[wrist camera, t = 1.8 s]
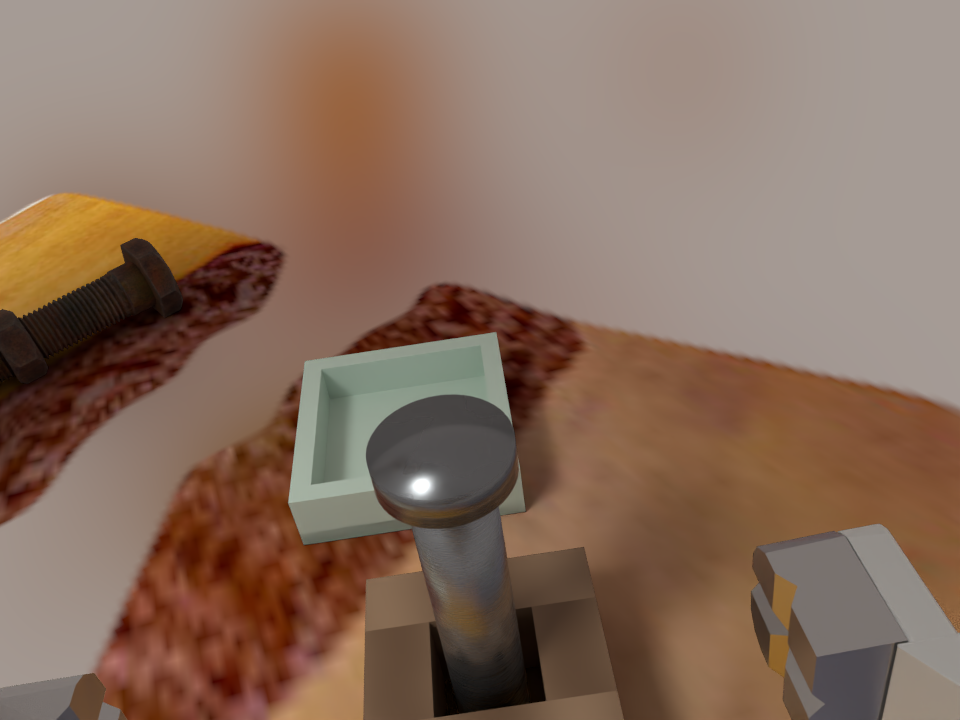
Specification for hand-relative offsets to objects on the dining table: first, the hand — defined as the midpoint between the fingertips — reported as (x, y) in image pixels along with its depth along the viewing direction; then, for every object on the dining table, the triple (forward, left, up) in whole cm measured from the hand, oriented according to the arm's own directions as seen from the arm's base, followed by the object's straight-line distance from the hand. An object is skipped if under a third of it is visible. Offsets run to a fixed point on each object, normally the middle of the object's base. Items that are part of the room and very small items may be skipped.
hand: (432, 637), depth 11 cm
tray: (-4, +29, -23) cm, 37 cm away
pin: (-1, +13, -23) cm, 26 cm away
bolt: (-26, +44, -24) cm, 56 cm away
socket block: (-1, +13, -23) cm, 26 cm away
